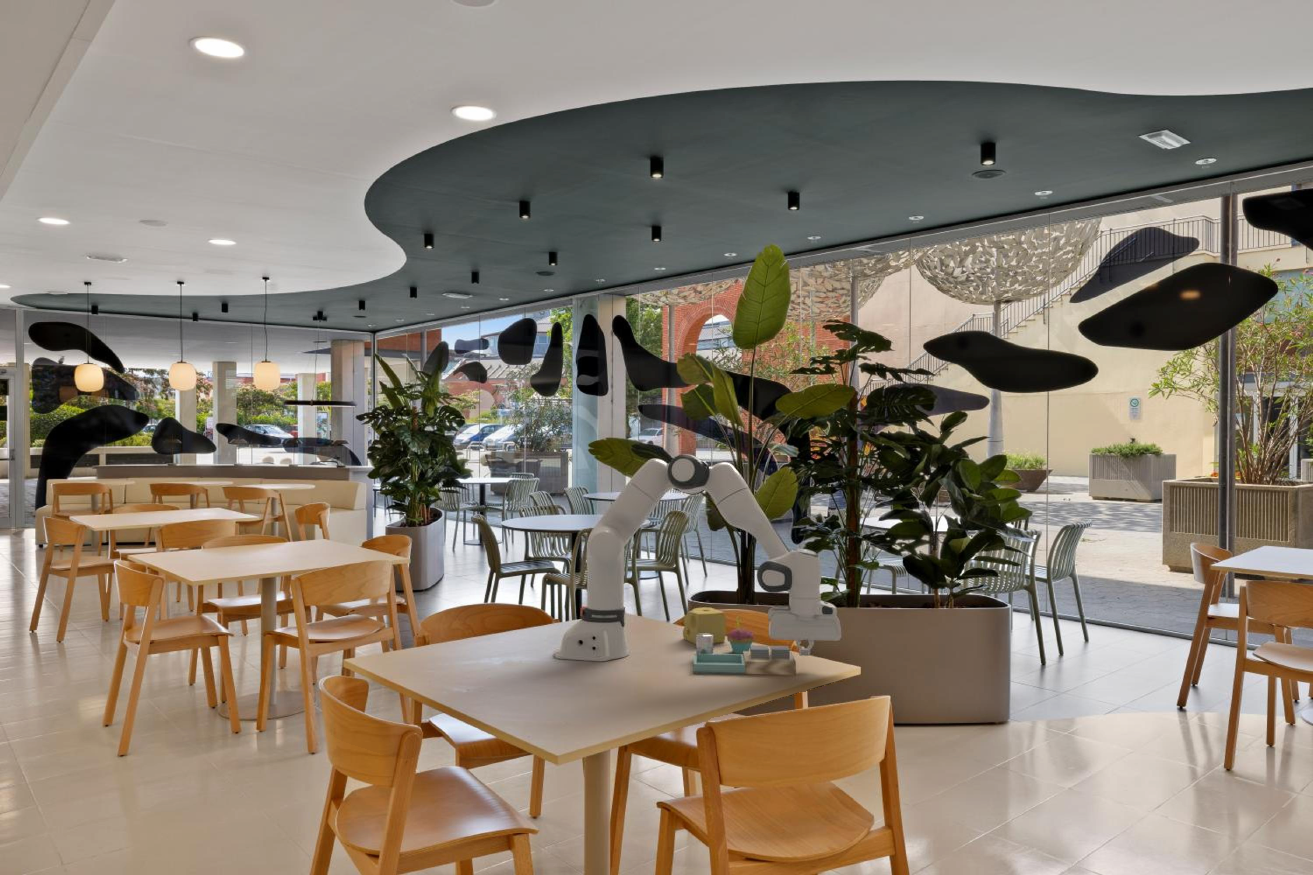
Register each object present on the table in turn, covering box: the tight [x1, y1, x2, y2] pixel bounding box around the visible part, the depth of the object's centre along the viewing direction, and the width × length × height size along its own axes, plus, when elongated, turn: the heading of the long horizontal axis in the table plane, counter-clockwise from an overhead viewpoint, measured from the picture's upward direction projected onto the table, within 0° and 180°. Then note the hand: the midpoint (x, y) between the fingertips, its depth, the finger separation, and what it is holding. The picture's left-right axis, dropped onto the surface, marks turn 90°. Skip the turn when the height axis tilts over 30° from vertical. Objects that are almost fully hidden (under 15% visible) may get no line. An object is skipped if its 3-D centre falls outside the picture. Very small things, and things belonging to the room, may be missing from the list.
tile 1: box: [749, 644, 770, 659], centre depth 257 cm, size 5×5×2 cm
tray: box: [693, 653, 746, 675], centre depth 258 cm, size 14×12×2 cm
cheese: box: [682, 606, 727, 645], centre depth 293 cm, size 10×11×10 cm
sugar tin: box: [695, 633, 714, 654], centre depth 269 cm, size 5×5×7 cm
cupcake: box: [726, 614, 756, 654], centre depth 278 cm, size 9×8×12 cm
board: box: [743, 650, 797, 676], centre depth 257 cm, size 14×12×4 cm
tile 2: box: [769, 645, 791, 659], centre depth 257 cm, size 5×5×2 cm
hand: (804, 655), depth 257 cm, fingers closed
